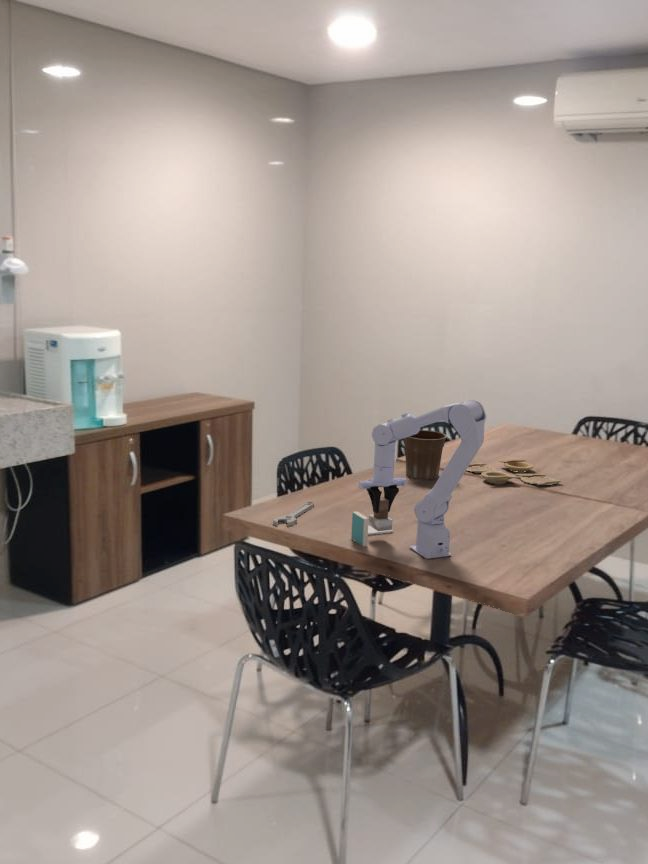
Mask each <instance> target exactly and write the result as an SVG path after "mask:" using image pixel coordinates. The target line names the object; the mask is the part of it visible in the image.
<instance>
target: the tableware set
mask: <svg viewBox="0 0 648 864" xmlns="http://www.w3.org/2000/svg"><path fill="white" fill-rule="evenodd" d="M498 462H499V463H502V464H503V466H504V467H506V468H507V469H508V471H509V470H512V471H518V472H524V471H527V472H528V471H529V470H532V469H534V464H532V463H529V462H527V459H526V458H521V459H518V458H517V459H499V460H498ZM472 466H480V467H487V468H490V469H491V470H487V469H481V470H475V469H469V467H472ZM468 471H470V472H469V473H472V472H475V473H474V474H479V473H481V474H480V475H481V476H482V477H483V478H485V480H486V483H488V482H490V483H489V484H492V483H494V484H493V485H504V483H505V484H506V483H507V482H508V481H509V480H512V479H516V478H517V479H518V477H520V481H521V480H522V482H523V483H525V482H526V483H525V484H528V483H530V484H529V485H532V484H537V485H536V486H540V485H551V486H553V485H552V484H555V483H557V484H558V483H562V480H561V479H555V478H552V477H548V476H547V475H546V474H545V473H514V474H510V473H507V472H504V471H502V470H498V469H497V468H496V467H494V466H490V465H487V463H486V462H482V461H480V462H479V461H478V462H476V463H470V465H469V466H468V468H467V470H466V471H465V472H468ZM530 477H541V478H547V479H550V480H551V481H545V482H541V481H537V482H532V481H529V480H527V478H530Z"/></svg>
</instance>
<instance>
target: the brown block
mask: <svg viewBox="0 0 648 864" xmlns="http://www.w3.org/2000/svg"><path fill="white" fill-rule="evenodd" d="M388 507H389V500H388V499H387V498H385V497H384V496H381V497H380V502H379V512H378V513H375V512H373V514H368V518H369V522H368V525H369V526H371V527H372V528H374V529H375V530H377V531H385V530H393V519H392V518H391V517H389V512H388Z"/></svg>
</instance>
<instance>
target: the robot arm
mask: <svg viewBox="0 0 648 864" xmlns="http://www.w3.org/2000/svg"><path fill="white" fill-rule="evenodd" d="M486 420H487V414H486V411H485V408H484V406H483V405H482V404H481V402H479V401H477V400H475V399H472V400H471V399H470V400H467V401H465V402H464V401H463V402H462V401H461V402H457V403H453V404H452V403H451V404H447V405H444V406H440V407H439V408H436V409H433V410H429V411H427V412H425V413H423V414H420V415H418V416H417V415H414V414H412V413H410V414H408V413H407V412H406V413H402V414H401V417H398V418H396V419H392V418H391V419H388V420H387V422H384V423H379V424H378V425H375V427H374V428H372V431H371V438H372V440H373V441H374V452H373V453H374V455H373V474H372V478H369V479H366V480H359V481H358V487H357V488H358V489H359V490H363V491H364V490H365V489H366V492H367V493H368V496H369V499H370V502H371V507H372V512H373V513H374V512H375V513H378V512H379V502H380V497H382V493H383V497H385V498H387V499H388V500H389V507H388V513H390V511H391V508H392V505H393V502H394V500H395V498H396V497H397V495H398V494H399V492H400V488H399V486H400V487H407V484H408V479H407V478H406V477H394V476H395V457H396V456H395V454H396V445H397V444H396V443H397V441H399V440H402V439H404V438H406V437H409V436H412V435H415V434H417V433H418V432H419V430H421V428H422V427H425V426H428V425H433V424H435V423H438V422H442V421H443V422H445V423H447V424H450V423H451V425H452V426H453V428H454V429H455V431H456V432H457V433H458V435H459V438H460V443H459V445H458V446H457V447H456V449H455V451H454V453H453V454H452V456H451V458H450V459H449V461H448V463H447V464H446V465H445V468H444V470H443V471H442V472H441V474H440V476H438V478H437V481H436V482H435V484H434V485H433V486H432V488H431V489H430V490H429V491H428V492H427V493H426V494H425V495H424V498H423V499H421V500H419V501H418V502H416V504H415V505H414V510H413V512H414V515H415V517H416V519H417V527H416V540H415V541H416V542H415V545H410V546H409V549H410V550H413V552H416V553H417V554H419V555H420V556H422V557H424V559H427V560H428V559H437V558H443V557H450V556H452V553H451V552H450V540H451V533H450V531H449V528H447V527H446V525H445V514H447V512H448V511H449V508H450V502H451V500H452V499H453V498H452V493H453V492H454V491H455V488H456V487H457V486H458V484H459V482H460V481H461V479H462V477H463V476H464V474H465V473H466V472H467V471H466V470H467V468H468V466H469V465H470V464H472V462H473V460H474V459H475V457H476V455H477V453H478V452H479V450H480V449H481V447H483V444H484V440H485V423H486ZM380 488H383V492H382V491H381V490H380Z"/></svg>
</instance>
